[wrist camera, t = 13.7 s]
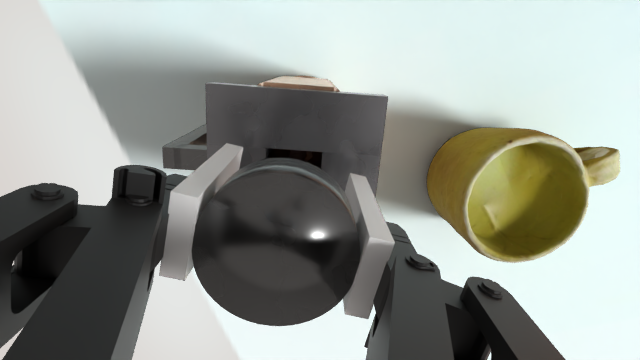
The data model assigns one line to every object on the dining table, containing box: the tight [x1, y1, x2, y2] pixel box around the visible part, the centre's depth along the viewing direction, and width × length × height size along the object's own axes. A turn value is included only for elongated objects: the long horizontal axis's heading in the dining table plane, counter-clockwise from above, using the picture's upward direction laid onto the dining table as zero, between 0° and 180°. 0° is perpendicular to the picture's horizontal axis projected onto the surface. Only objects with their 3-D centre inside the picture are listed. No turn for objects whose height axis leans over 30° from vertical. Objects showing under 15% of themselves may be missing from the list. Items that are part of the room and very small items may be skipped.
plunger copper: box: [191, 148, 361, 326], centre depth 20 cm, size 6×6×18 cm
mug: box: [427, 128, 620, 263], centre depth 29 cm, size 12×10×10 cm
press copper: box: [162, 76, 388, 197], centre depth 25 cm, size 12×9×13 cm
